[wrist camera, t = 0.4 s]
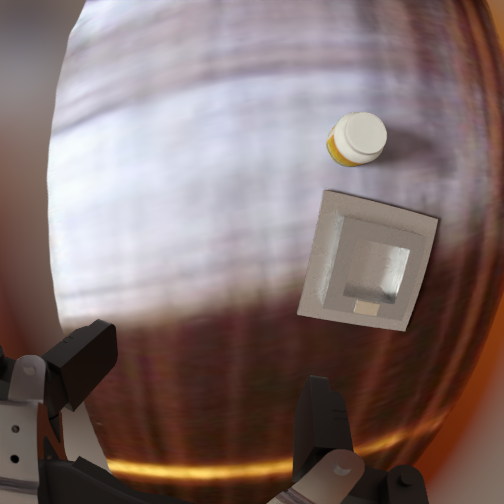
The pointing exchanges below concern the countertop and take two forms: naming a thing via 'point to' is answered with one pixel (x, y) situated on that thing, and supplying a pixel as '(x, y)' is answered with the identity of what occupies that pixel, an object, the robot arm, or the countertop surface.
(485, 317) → the countertop surface
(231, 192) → the countertop surface
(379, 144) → the supplement bottle
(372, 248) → the white square holder
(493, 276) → the countertop surface
